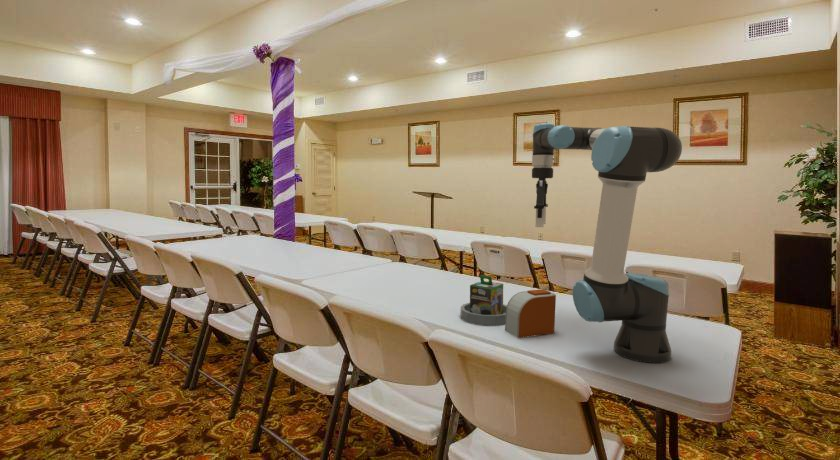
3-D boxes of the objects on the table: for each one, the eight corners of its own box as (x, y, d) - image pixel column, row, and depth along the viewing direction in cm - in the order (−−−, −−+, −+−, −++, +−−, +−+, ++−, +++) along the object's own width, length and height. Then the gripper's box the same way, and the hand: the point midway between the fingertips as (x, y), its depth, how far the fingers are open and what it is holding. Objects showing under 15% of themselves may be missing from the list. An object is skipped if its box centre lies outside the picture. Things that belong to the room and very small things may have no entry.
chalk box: (503, 314, 170) (504, 274, 168) (490, 320, 163) (491, 278, 161) (481, 309, 176) (482, 271, 174) (468, 315, 168) (469, 275, 167)
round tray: (506, 328, 157) (507, 318, 157) (454, 321, 164) (455, 312, 163) (515, 313, 175) (515, 304, 174) (467, 308, 181) (468, 299, 181)
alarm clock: (541, 325, 161) (542, 287, 160) (556, 333, 153) (558, 293, 152) (504, 330, 156) (505, 290, 154) (518, 338, 148) (520, 296, 146)
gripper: (552, 166, 155) (549, 229, 158) (554, 168, 179) (552, 223, 181) (529, 166, 158) (527, 228, 160) (534, 168, 181) (532, 222, 184)
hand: (540, 225), depth 171 cm, fingers open, 13 cm apart
